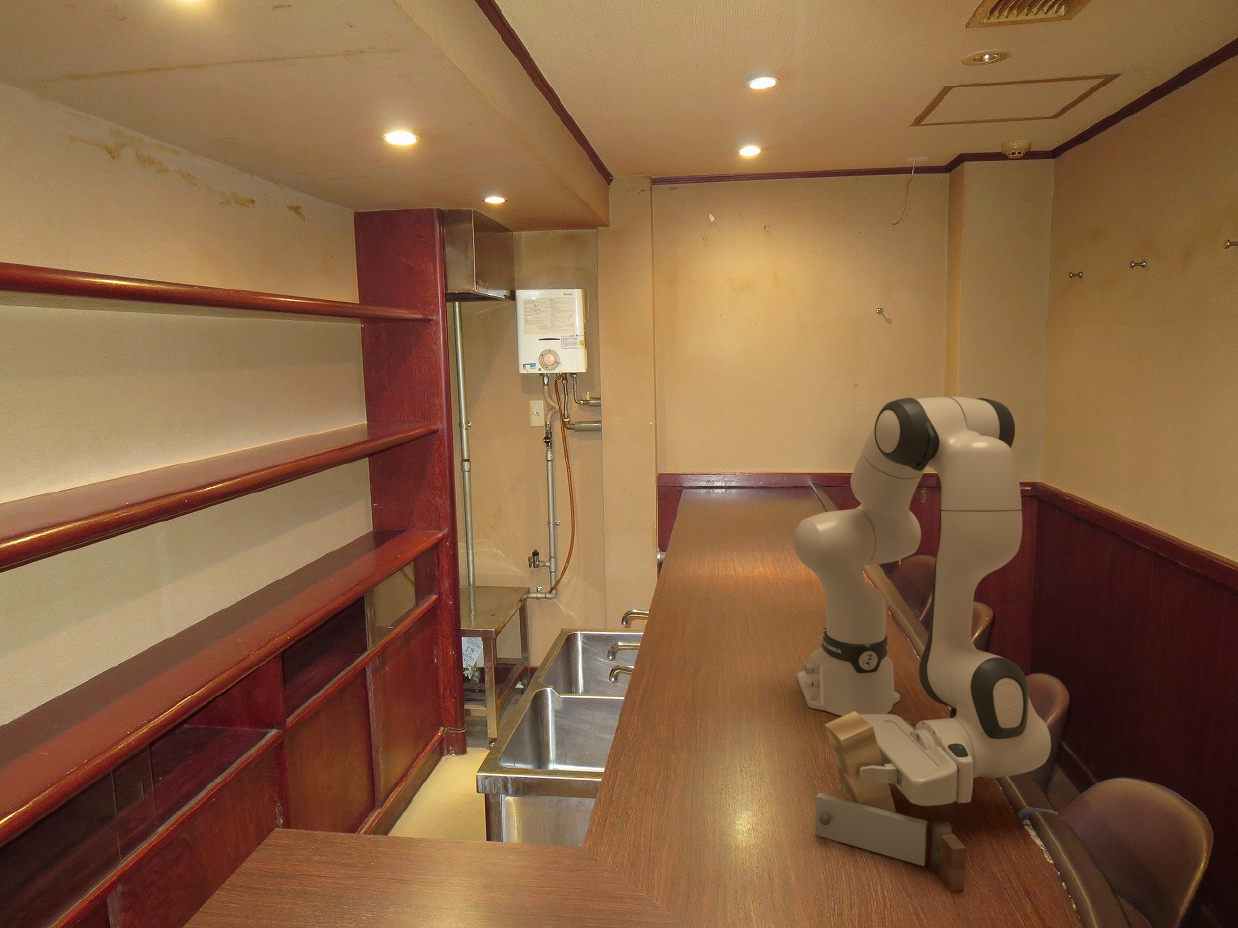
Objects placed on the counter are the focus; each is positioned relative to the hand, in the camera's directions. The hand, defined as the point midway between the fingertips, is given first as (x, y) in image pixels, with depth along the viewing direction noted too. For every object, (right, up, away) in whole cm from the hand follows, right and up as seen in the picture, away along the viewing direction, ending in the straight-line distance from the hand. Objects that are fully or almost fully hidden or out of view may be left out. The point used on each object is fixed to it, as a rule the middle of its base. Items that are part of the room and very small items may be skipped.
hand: (848, 760), depth 118 cm
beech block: (+4, -8, +2) cm, 9 cm away
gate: (+2, -12, -3) cm, 12 cm away
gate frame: (+9, -11, +2) cm, 14 cm away
